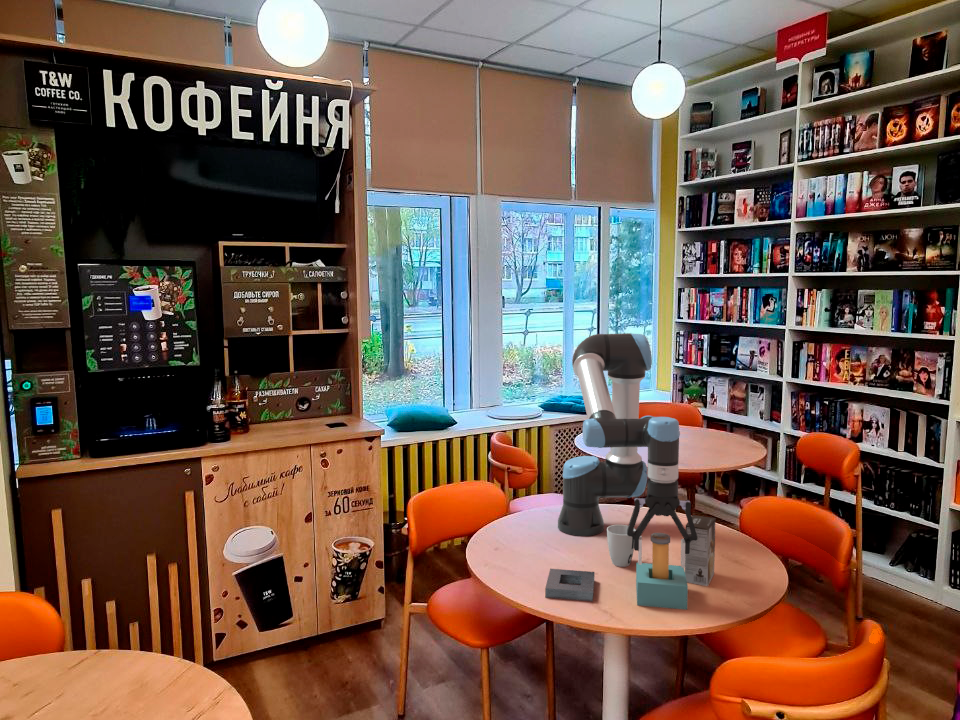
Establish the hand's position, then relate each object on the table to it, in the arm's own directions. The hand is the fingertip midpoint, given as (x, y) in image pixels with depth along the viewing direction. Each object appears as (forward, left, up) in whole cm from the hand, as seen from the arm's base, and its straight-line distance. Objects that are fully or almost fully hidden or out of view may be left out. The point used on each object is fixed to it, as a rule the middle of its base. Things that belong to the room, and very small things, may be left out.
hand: (661, 563), depth 167 cm
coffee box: (-13, +11, -9) cm, 19 cm away
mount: (0, -23, -9) cm, 25 cm away
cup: (-19, -10, -9) cm, 23 cm away
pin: (0, 0, -9) cm, 9 cm away
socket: (0, 0, -9) cm, 9 cm away
